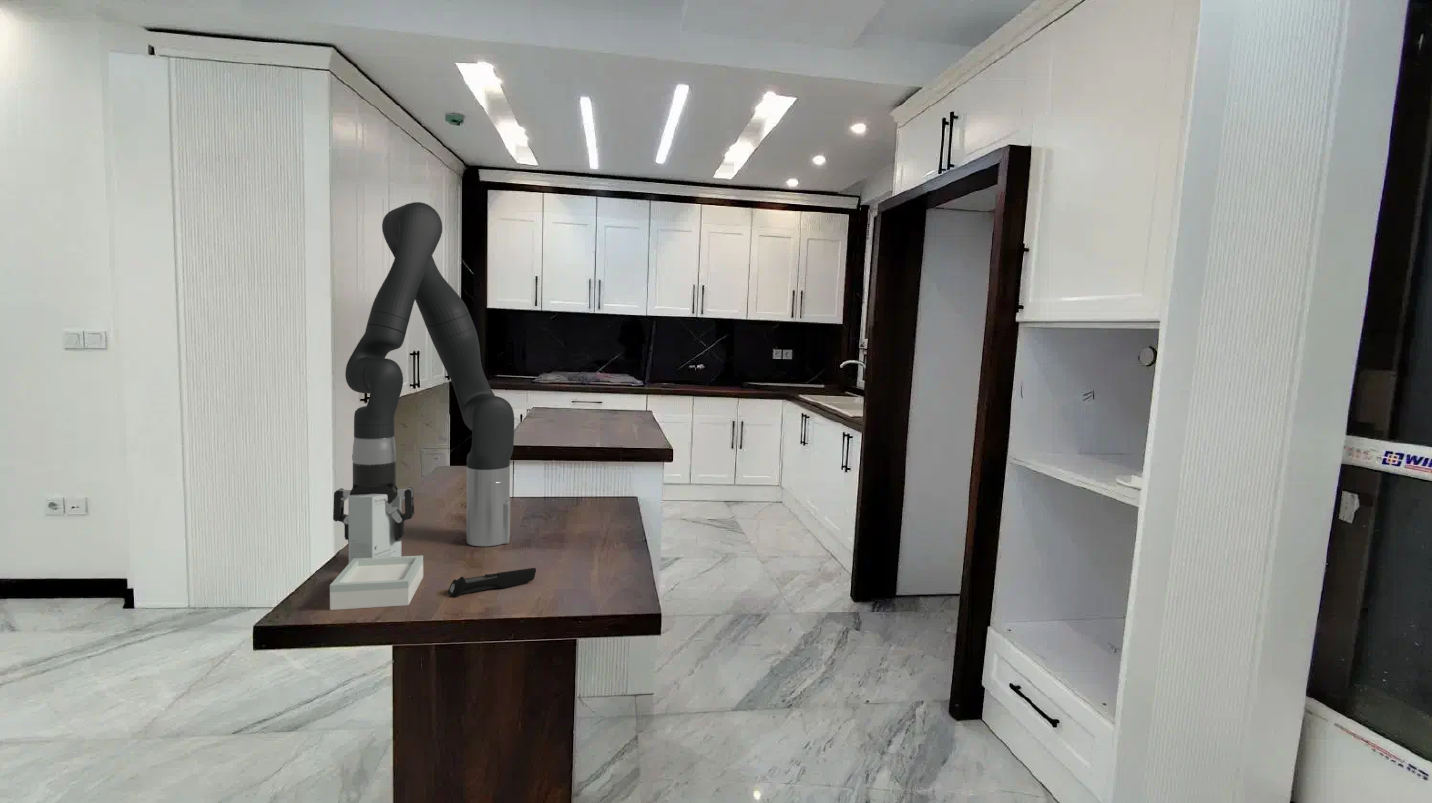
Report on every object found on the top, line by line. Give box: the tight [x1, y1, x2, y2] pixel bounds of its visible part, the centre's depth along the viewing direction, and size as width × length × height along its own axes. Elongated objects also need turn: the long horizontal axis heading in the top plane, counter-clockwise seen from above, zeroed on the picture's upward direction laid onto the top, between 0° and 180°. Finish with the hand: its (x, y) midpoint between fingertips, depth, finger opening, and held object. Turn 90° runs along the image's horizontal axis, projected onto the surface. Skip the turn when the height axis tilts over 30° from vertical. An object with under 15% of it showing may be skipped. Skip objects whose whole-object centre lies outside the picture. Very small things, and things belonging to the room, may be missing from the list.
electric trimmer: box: [447, 567, 537, 598], centre depth 122 cm, size 4×16×3 cm, turn 123°
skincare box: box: [347, 494, 402, 564], centre depth 131 cm, size 8×6×15 cm
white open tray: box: [329, 554, 424, 611], centre depth 117 cm, size 12×14×4 cm
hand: (374, 540), depth 131 cm, fingers closed on skincare box, 8 cm apart
